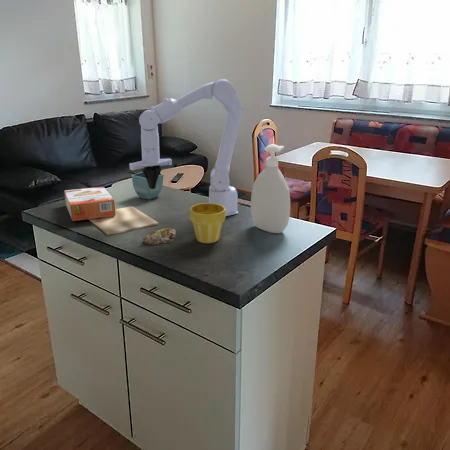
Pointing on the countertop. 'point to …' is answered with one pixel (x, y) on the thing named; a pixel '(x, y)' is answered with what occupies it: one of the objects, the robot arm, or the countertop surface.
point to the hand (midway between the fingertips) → (152, 188)
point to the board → (123, 221)
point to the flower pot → (146, 186)
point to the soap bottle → (271, 196)
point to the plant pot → (207, 221)
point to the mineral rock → (160, 236)
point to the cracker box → (89, 203)
